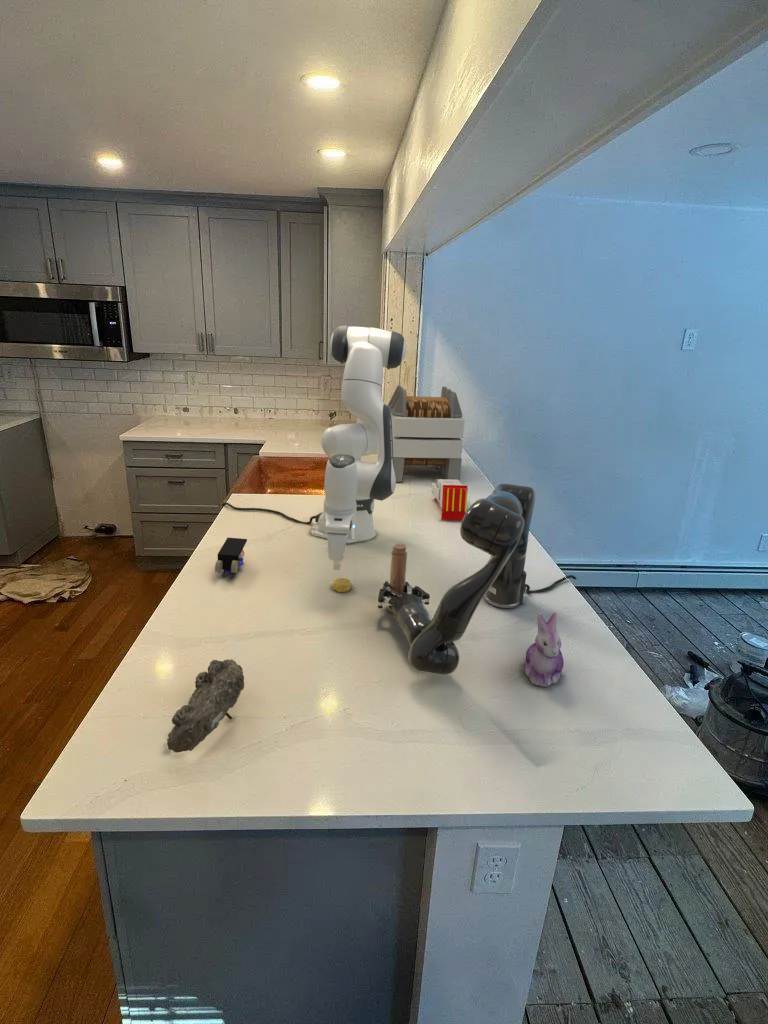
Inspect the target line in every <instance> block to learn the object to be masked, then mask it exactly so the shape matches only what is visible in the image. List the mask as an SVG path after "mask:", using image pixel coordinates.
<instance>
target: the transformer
mask: <svg viewBox="0 0 768 1024" xmlns="http://www.w3.org/2000/svg"><path fill="white" fill-rule="evenodd" d="M440 393H441V394H440V396H415V395H414V396H413V395H412V396H411V395H407V394H408V393H407V390H406V389H404V388H403V387H402V385H399V384H398V385H397V386H396V388H395V390H394V392H393V394H392V395H391V398H390V400H389V402H388V404H386V405H387V406H388V407H389V409H390V413H391V420H392V432H393V460H394V472H395V477H396V483H402V482H403V475H404V469H405V466H406V467H407V466H411V467H412V466H413V467H415V466H416V467H417V466H418V467H436V468H437V470H438V469H439V473H440V474H441V475H443V479H451V480H459V481H460V482H461V472H462V461H463V460H462V453H463V442H464V441H463V440H462V439H463V438H464V431H465V430H464V429H465V419H464V418H463V411H462V408H461V405H460V402H459V398H458V395H457V392H455V391H453V390H452V389H451V388H447V386H442V387H441V392H440Z"/></svg>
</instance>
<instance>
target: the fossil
mask: <svg viewBox="0 0 768 1024" xmlns="http://www.w3.org/2000/svg"><path fill="white" fill-rule="evenodd" d="M243 670H244V669H243V667H242V665H240V664H237V662H236V661H235V660H234V659H232V658H231V659H227V658H226V659H224V660H223V661H222V660H217V659H212V660H211V661H210V663H209V665H208V666H207V671H201V672H199V673H198V674H197V675H196V676H195V680H194V684H195V685H194V687H195V689H194V690H193V693H192V694H191V697H190V698H189V700H188V704H184V705H182V706H181V707H180V709H177V710H176V711H175V713H174V715H173V716H172V718H171V723H172V724H173V727H172V730H171V731H170V732H168V734H167V738H166V741H167V742H166V745H167V749H168V750H169V751H173V752H174V753H176V754H178V753H182V752H188V751H189V752H192V751H193V750H195V748H196V747H197V746H199V744H200V743H201V742H203V741H204V740H205V739H206V738H207V737H208V736H209V735H210V734H211V733H212V732H214V730H215V729H217V727H218V726H219V724H220V722H221V721H222V720H223V719H224V718H225V716H226V717H227V719H229V720H233V717H232V715H230V714H229V710H230V709H231V708H234V706H235V704H236V703H237V702H238V699H239V697H240V695H241V693H242V691H243V690H245V689H244V688H245V675H244V671H243Z"/></svg>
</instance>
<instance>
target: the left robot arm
mask: <svg viewBox="0 0 768 1024" xmlns="http://www.w3.org/2000/svg"><path fill="white" fill-rule="evenodd" d="M329 350H330V353H331V357H332V358H333V359H334V360H335V361H337V362H339V363H340V364H341V365H344V364H345V365H344V369H343V375H342V381H341V391H340V397H341V398H340V399H341V403H342V405H343V406H344V408H345V409H346V410H347V411H348V412H349V413H350V414H351V415H353V416H354V417H356V422H354V423H353V422H352V423H342V424H341V423H340V424H336V425H333V426H331V427H327V428H326V429H325V430H324V431H323V433H322V435H321V441H320V443H321V444H320V445H321V448H322V450H323V453H324V454H325V455H326V456H327V457H329V458H328V459H327V462H326V466H325V472H324V482H323V483H324V484H323V491H324V496H325V497H324V501H323V512H319V513H318V514H316V515H313V516H310V518H309V521H301V520H298V519H297V518H294V517H290V516H288V515H286V514H285V513H283V512H281V511H279V510H273V509H269V508H261V507H238V506H237V507H236V506H234V505H233V504H231V503H229V502H227V501H226V502H223V503H222V504H221V506H222V507H225V506H227V507H229V508H230V509H233V510H236V511H259V512H269V513H273V514H277V515H279V516H282V517H284V518H285V519H287V520H289V521H292V522H295V523H297V524H302V525H311V524H312V523H313V520H314V521H315V524H314V525H313V526H312V528H311V530H310V533H311V536H315V537H319V538H323V539H326V540H327V542H326V543H327V555H328V560H329V561H331V562H332V565H333V567H332V568H333V570H334V571H340V570H341V562H343V559H344V557H345V551H346V545H347V544H352V543H357V542H365V541H368V540H372V539H373V538H375V537H376V535H377V532H376V528H375V523H374V509H375V501H380V502H382V501H385V500H386V499H388V498H389V497H391V496H392V495H393V494H394V493H395V490H396V485H397V482H396V477H395V472H394V460H393V432H392V420H391V413H390V409H389V407H388V406H387V405H388V404H385V403H384V400H383V396H382V391H383V390H382V388H383V381H384V368H387V370H390V369H391V370H392V369H396V368H398V367H400V366H401V364H402V362H403V361H404V359H405V357H406V352H407V345H406V342H405V337H404V336H403V334H402V333H399V332H397V331H394V330H392V331H390V330H386V329H382V328H377V327H372V326H371V327H367V326H349V325H345V324H343V325H338V326H337V327H335V328H334V330H333V332H332V335H331V337H330V338H329ZM373 455H377V461H376V462H368V461H367V462H366V461H362V460H361V459H362V457H364V456H373Z"/></svg>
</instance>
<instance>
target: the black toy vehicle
mask: <svg viewBox="0 0 768 1024" xmlns="http://www.w3.org/2000/svg"><path fill="white" fill-rule="evenodd" d="M247 542H248V538H240V537H226V539H225V541H224V543H223V544H222V546H221V547H220V549H219V551H218V552H217V560H216V562H215V564H214V572H215V573H221V577H222V578H224V577H225V576H226V574H227V573H230V574H231V573H232V574H231V578H234V577H235V575H236V573H237V572H239V571H240V567H242V566H243V565H244V564H245V562H244V558H245V551H244V547H245V546H246V544H247Z"/></svg>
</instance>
